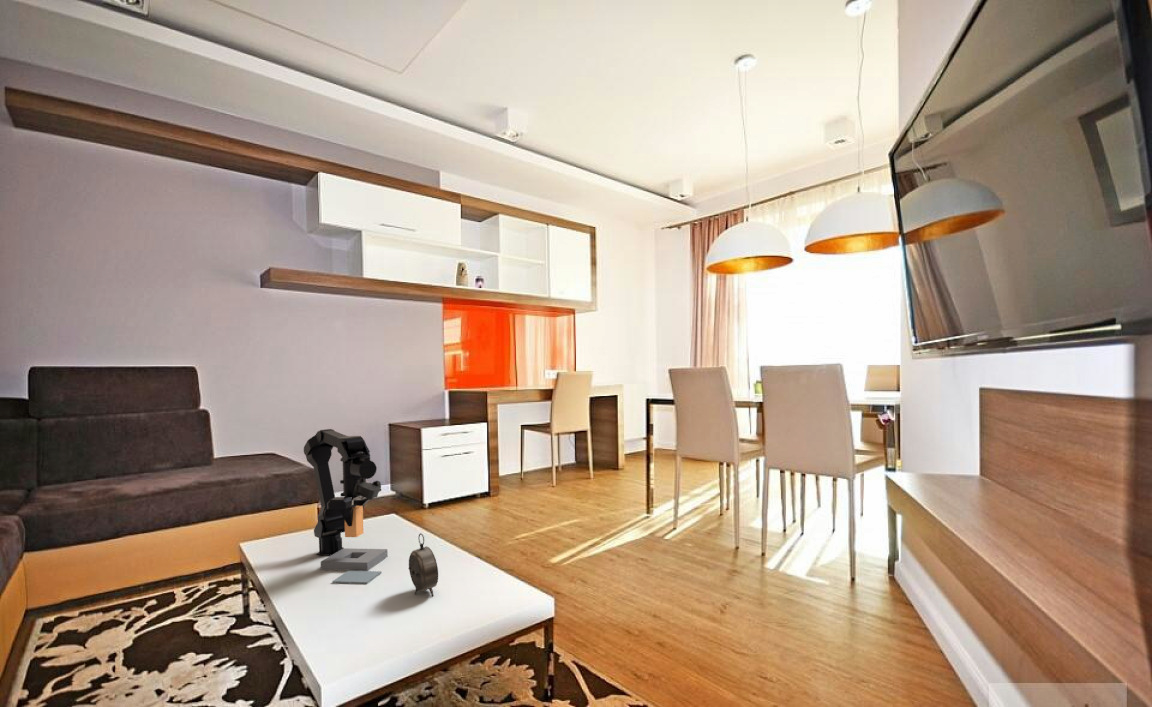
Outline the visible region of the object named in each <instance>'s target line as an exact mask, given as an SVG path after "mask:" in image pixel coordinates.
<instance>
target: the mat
mask: <svg viewBox="0 0 1152 707" xmlns="http://www.w3.org/2000/svg"><path fill="white" fill-rule="evenodd" d="M381 574H382V571H379V570H378V571H376V570H368V571H356V570H346V571H345V572H344V573H342V574H341V575H339V576H338V577H336V578H335V579H333V580H332V584H348V585H349V584H351V585H352V584H353V585H354V584H355V585H368V584H369V583H370V582H372V581H373V580H374V579H376V578H377V577H378V576H380V575H381Z"/></svg>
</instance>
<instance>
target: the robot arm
mask: <svg viewBox="0 0 1152 707" xmlns="http://www.w3.org/2000/svg"><path fill="white" fill-rule="evenodd" d="M367 445H368V444H366V441H365V439H364V438H363V437H362V436H361V435H350V436H349V435H345V434H343V433H340V432H338V431H335V430H334V429H333V428H327V429H320V430H318V431H317V432H316V433H315V435H313V436H312V437H310V438H309V439H308V440H306V443H305V444H304V446H303V454H304V455H305V458H306V461H307V463H309V464H310V465H311V466H312V467H313V472H314V476H315V477H314V478H315V482H316V487H317V492H318V496H319V497H318V498H319V504H320V510H319V512H318V515H317V523H316V525H315V527H314V528H313V535H314V537H315V538H318V549H319V551H318V552H316V553H315V555H316V556H331V555H333V554H335V553H336V552H338V551H340V550H341V549H343V548H345V547H343V537H342V535H341V534H342V533H345V521H346V523H347V525H348V526H352V521H353V509H354V508H355V507H356V506H363V509H364V508H365V505H366V504H367V503H368V502H369V501H371V500H373V499H375V498H378V496H379V493H380V492H381V491H382V484H381V481H379V480H375V481H373V482H367V480H369V479H371V478H373V477H374V476H375V475H376V473H377V466H376V463H375V462H374V461H372V460H371V454H370V452H371V451H370V449H369V447H368V446H367ZM334 448H336V449H337V453H338V454H339V455H340V456H341V457H340V462H342V479H340V480H339V483H340V485H341V484H342V486H343V487H342V489H343V490H342V492H340V496H336V495H335V490H334V485H333V480H332V475H331V469H330V465H329V462H330V459H331V457H332V454H333V453H332V450H333V449H334Z"/></svg>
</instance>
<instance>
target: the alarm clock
mask: <svg viewBox="0 0 1152 707" xmlns="http://www.w3.org/2000/svg"><path fill="white" fill-rule="evenodd" d="M421 536H422V543H421V540H420V537H421ZM418 543H419V546H420V547H419V548H416V549H414V550H412V552H411V553H410V555H409V557H408V558H409V559H408V571H409V575H410V579H411V581H412V584H413V586H414V588H415V591H414V595H417V592H418V591H420V592H424V591H427V590H429V593H430V596H431V597H434V590H433V588H435V587H436V586H437V585H438V582H439V567H438V563H437V559H436V557H435V554H434V552H433V550H432V549H431V548H430V547H429V546H424V544H425V536H424V535H423V533H419V534H418Z"/></svg>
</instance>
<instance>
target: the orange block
mask: <svg viewBox="0 0 1152 707" xmlns="http://www.w3.org/2000/svg"><path fill="white" fill-rule="evenodd" d="M362 534H363V535H364V508H363V506H356V507H355V508H354V509H353V521H352V526H348V525H347V523H346V521H345V532H344V537H345V538H357V537H360V536H362Z"/></svg>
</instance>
